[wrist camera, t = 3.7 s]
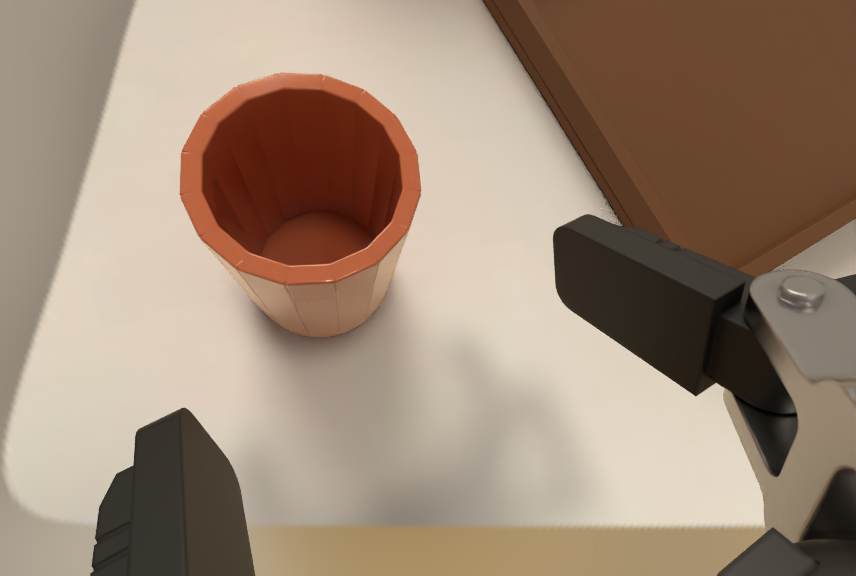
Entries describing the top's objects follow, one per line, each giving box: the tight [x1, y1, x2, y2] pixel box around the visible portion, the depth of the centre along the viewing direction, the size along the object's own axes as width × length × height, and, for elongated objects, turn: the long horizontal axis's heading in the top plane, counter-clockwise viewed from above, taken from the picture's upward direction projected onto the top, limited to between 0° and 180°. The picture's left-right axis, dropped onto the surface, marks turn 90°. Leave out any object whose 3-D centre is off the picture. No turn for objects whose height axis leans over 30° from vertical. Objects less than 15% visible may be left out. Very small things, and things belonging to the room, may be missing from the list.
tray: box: [484, 0, 856, 277], centre depth 26 cm, size 30×21×2 cm
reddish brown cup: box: [180, 73, 421, 337], centre depth 15 cm, size 6×6×8 cm
